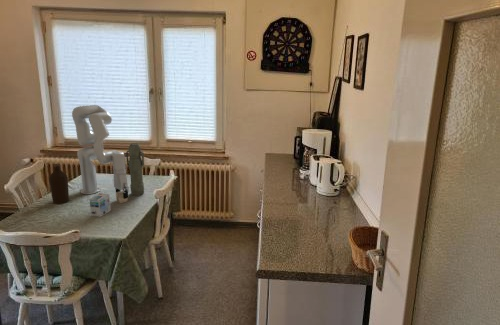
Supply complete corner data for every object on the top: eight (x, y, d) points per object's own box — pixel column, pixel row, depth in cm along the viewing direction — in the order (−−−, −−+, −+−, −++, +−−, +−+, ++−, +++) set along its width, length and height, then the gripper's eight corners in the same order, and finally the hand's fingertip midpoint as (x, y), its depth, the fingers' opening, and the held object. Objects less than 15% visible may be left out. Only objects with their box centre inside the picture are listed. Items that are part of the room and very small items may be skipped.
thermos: (144, 195, 253) (141, 145, 244) (127, 195, 252) (123, 145, 243) (147, 191, 261) (144, 142, 252) (131, 191, 261) (127, 142, 252)
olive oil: (73, 198, 245) (68, 162, 239) (65, 204, 235) (61, 166, 229) (56, 198, 245) (52, 162, 239) (48, 204, 235) (43, 166, 228)
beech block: (116, 201, 242) (115, 192, 240) (123, 199, 246) (123, 190, 244) (120, 203, 239) (119, 194, 237) (127, 201, 242) (126, 192, 241)
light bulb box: (101, 217, 216) (99, 199, 214) (90, 216, 218) (88, 198, 215) (111, 210, 226) (109, 193, 224) (101, 209, 228) (99, 192, 225)
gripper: (107, 170, 240) (110, 195, 244) (121, 175, 228) (123, 201, 233) (118, 167, 245) (120, 192, 249) (132, 172, 234) (134, 198, 238)
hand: (122, 196), depth 241 cm, fingers open, 9 cm apart
